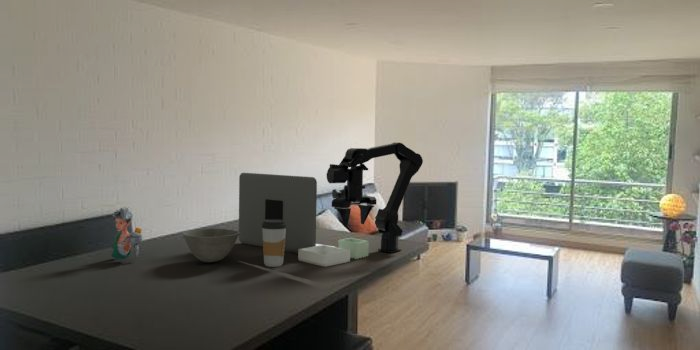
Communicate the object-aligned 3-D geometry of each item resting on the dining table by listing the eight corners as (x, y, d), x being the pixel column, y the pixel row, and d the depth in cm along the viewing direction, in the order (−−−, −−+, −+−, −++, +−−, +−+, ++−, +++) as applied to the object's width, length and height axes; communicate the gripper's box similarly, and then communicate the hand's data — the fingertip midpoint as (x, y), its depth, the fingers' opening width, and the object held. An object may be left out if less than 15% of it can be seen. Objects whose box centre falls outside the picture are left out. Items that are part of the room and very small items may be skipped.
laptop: (356, 246, 219) (358, 174, 218) (313, 258, 195) (315, 177, 193) (284, 236, 240) (285, 170, 238) (236, 245, 215) (237, 172, 213)
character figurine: (99, 259, 183) (99, 207, 182) (116, 255, 191) (116, 204, 190) (128, 262, 180) (128, 209, 179) (144, 258, 188) (144, 206, 187)
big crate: (323, 255, 199) (323, 244, 198) (350, 261, 190) (350, 250, 189) (298, 260, 189) (298, 249, 189) (324, 266, 180) (325, 255, 180)
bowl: (249, 261, 186) (250, 232, 186) (201, 269, 173) (202, 238, 172) (219, 253, 199) (219, 226, 198) (172, 260, 185) (172, 231, 185)
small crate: (350, 253, 203) (350, 237, 203) (368, 257, 197) (368, 241, 197) (338, 256, 198) (338, 239, 198) (356, 259, 192) (356, 243, 192)
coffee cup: (281, 268, 177) (282, 222, 176) (257, 266, 178) (257, 221, 178) (289, 263, 185) (290, 219, 184) (266, 261, 187) (266, 218, 186)
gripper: (355, 180, 208) (354, 220, 209) (321, 182, 195) (320, 225, 195) (377, 182, 201) (376, 223, 202) (343, 184, 187) (342, 229, 188)
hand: (354, 225), depth 197 cm, fingers open, 9 cm apart
